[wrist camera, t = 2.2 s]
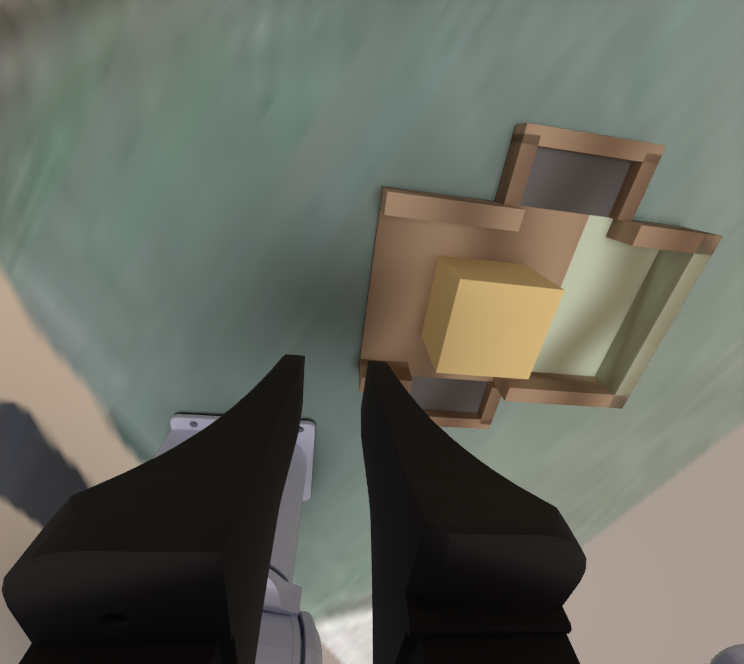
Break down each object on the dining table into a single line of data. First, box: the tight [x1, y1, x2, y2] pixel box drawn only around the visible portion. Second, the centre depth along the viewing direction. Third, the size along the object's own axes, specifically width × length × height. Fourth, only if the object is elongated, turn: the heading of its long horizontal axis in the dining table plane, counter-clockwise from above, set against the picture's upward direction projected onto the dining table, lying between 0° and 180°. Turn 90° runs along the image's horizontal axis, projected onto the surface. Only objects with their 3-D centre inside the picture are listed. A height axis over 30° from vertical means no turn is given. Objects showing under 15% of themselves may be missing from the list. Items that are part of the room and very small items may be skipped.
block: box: [421, 255, 565, 379], centre depth 18 cm, size 5×5×4 cm
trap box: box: [359, 123, 723, 429], centre depth 20 cm, size 17×18×2 cm
